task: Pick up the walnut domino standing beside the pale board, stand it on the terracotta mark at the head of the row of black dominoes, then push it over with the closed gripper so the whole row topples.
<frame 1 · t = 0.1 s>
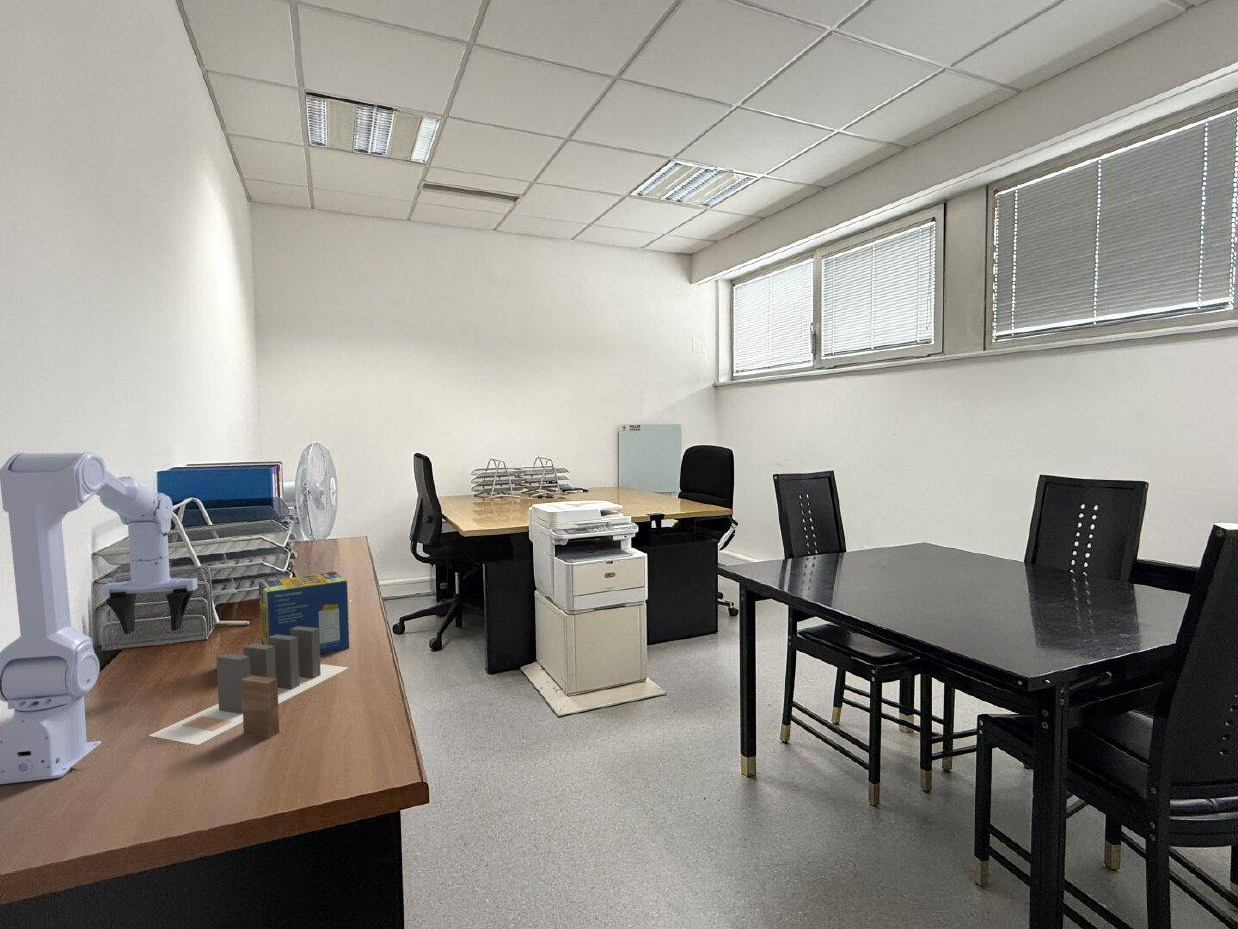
hand: (153, 630, 114), 10 cm above the table, tool pointing down, fingers open, 7 cm apart
domino 1: (261, 737, 94), on the table
domino 4: (284, 686, 112), point 1 cm above the table, touching board
domino 3: (261, 697, 107), point 1 cm above the table, touching board
domino 2: (235, 709, 102), point 1 cm above the table, touching board
protein box: (306, 654, 131), on the table
board: (261, 700, 107), on the table
domino 5: (306, 675, 116), point 1 cm above the table, touching board
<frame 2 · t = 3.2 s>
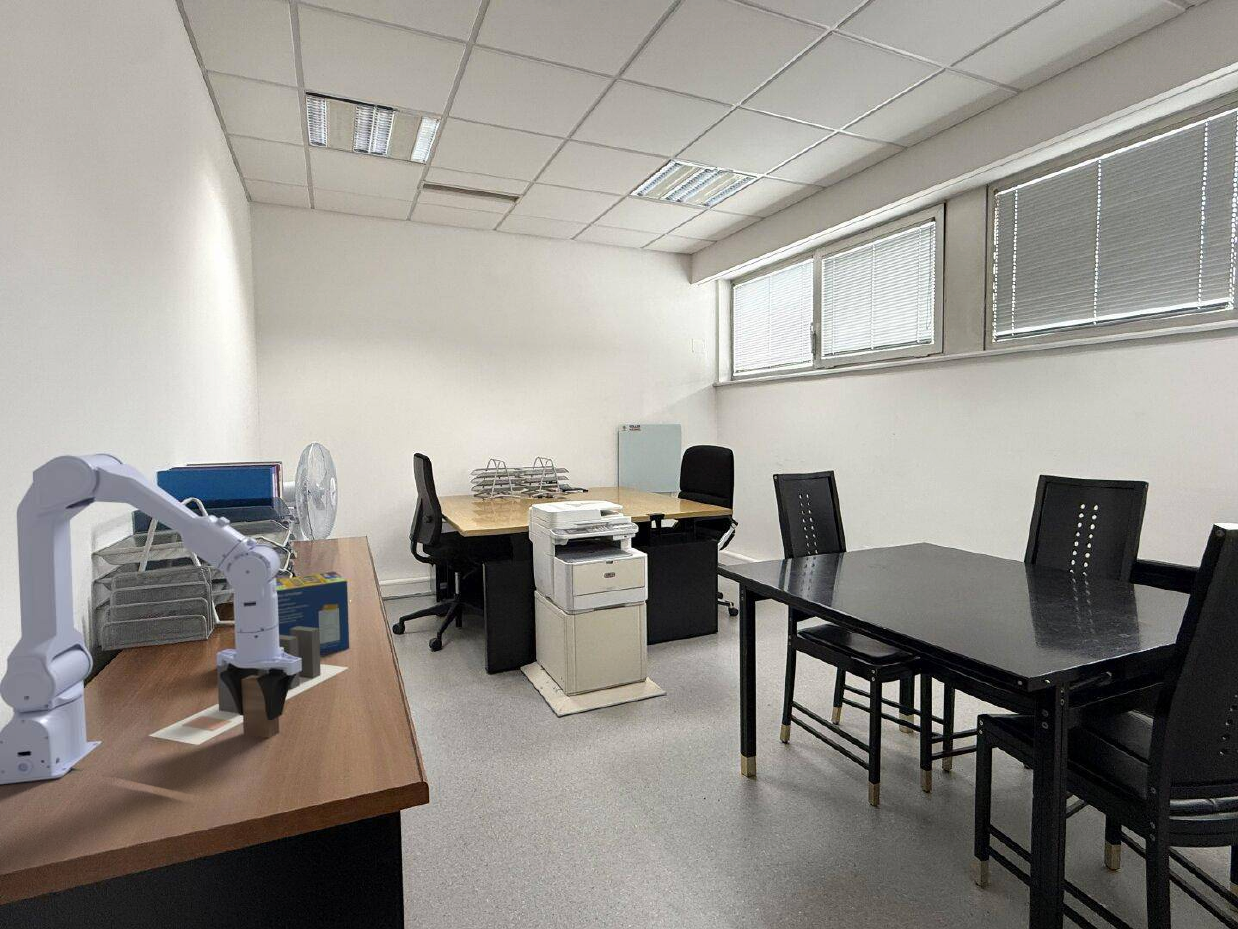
hand: (260, 715, 94), 3 cm above the table, tool pointing down, fingers closed on domino 1, 5 cm apart
domino 1: (261, 737, 94), on the table, touching gripper
everything else where it was.
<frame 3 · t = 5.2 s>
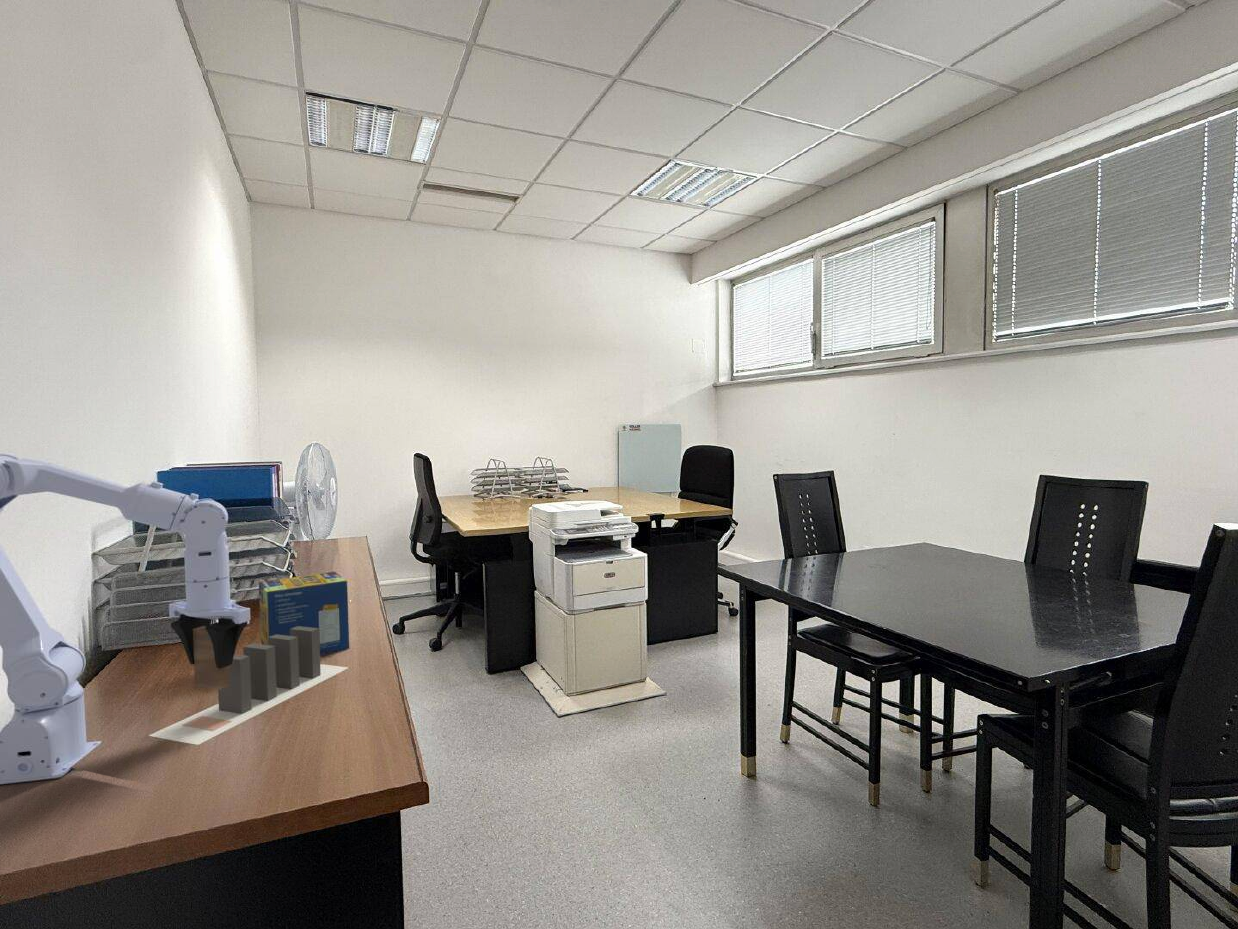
hand: (211, 664, 96), 10 cm above the table, tool pointing down, fingers closed on domino 1, 5 cm apart
domino 1: (212, 685, 97), point 7 cm above the table, touching gripper
everything else where it was.
when the fingers open (5 cm above the table, at t = 7.2 s): domino 1 stays where it is, resting on board.
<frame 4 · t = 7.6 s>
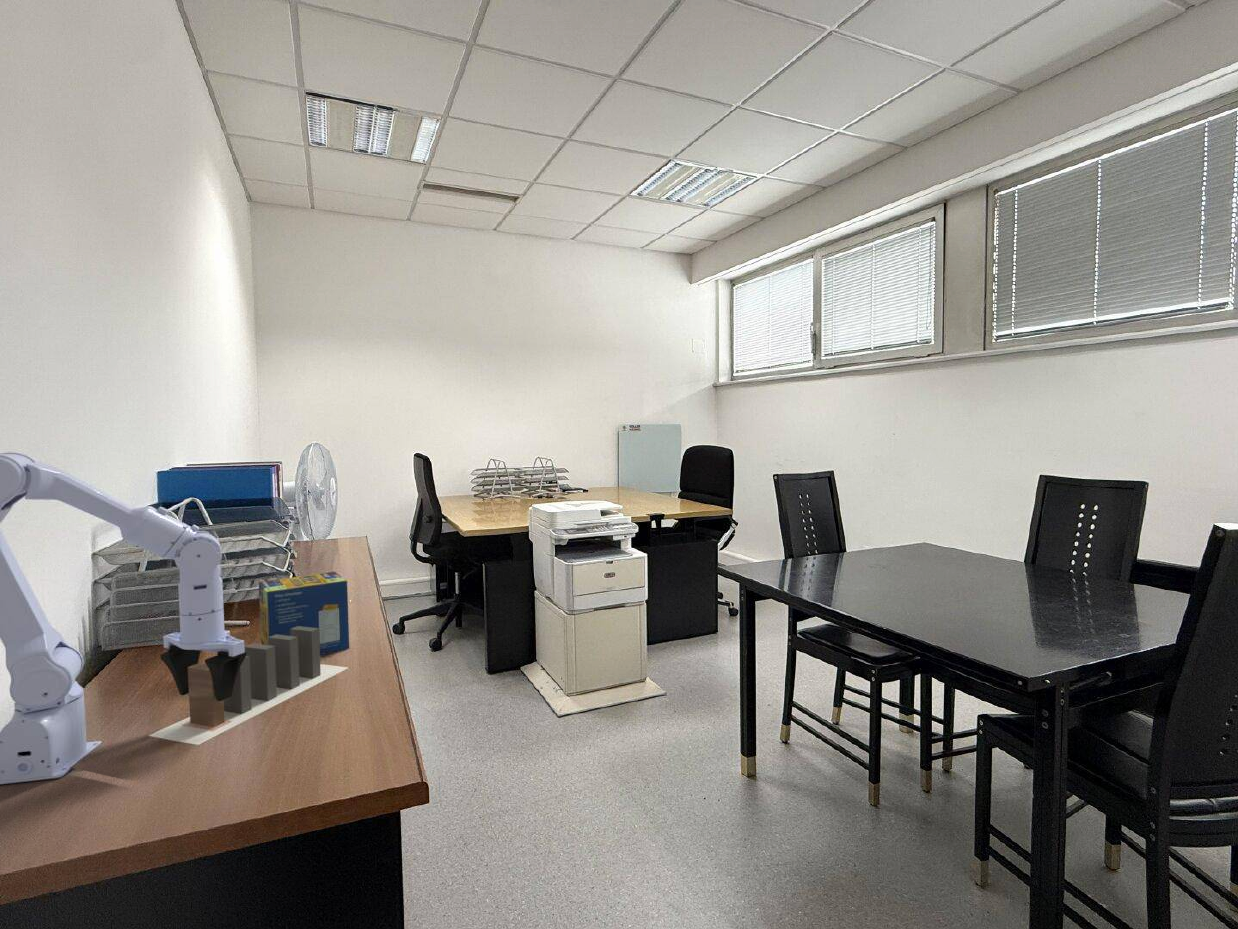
hand: (205, 695, 97), 5 cm above the table, tool pointing down, fingers open, 7 cm apart
domino 1: (207, 722, 97), point 1 cm above the table, touching board
everything else where it was.
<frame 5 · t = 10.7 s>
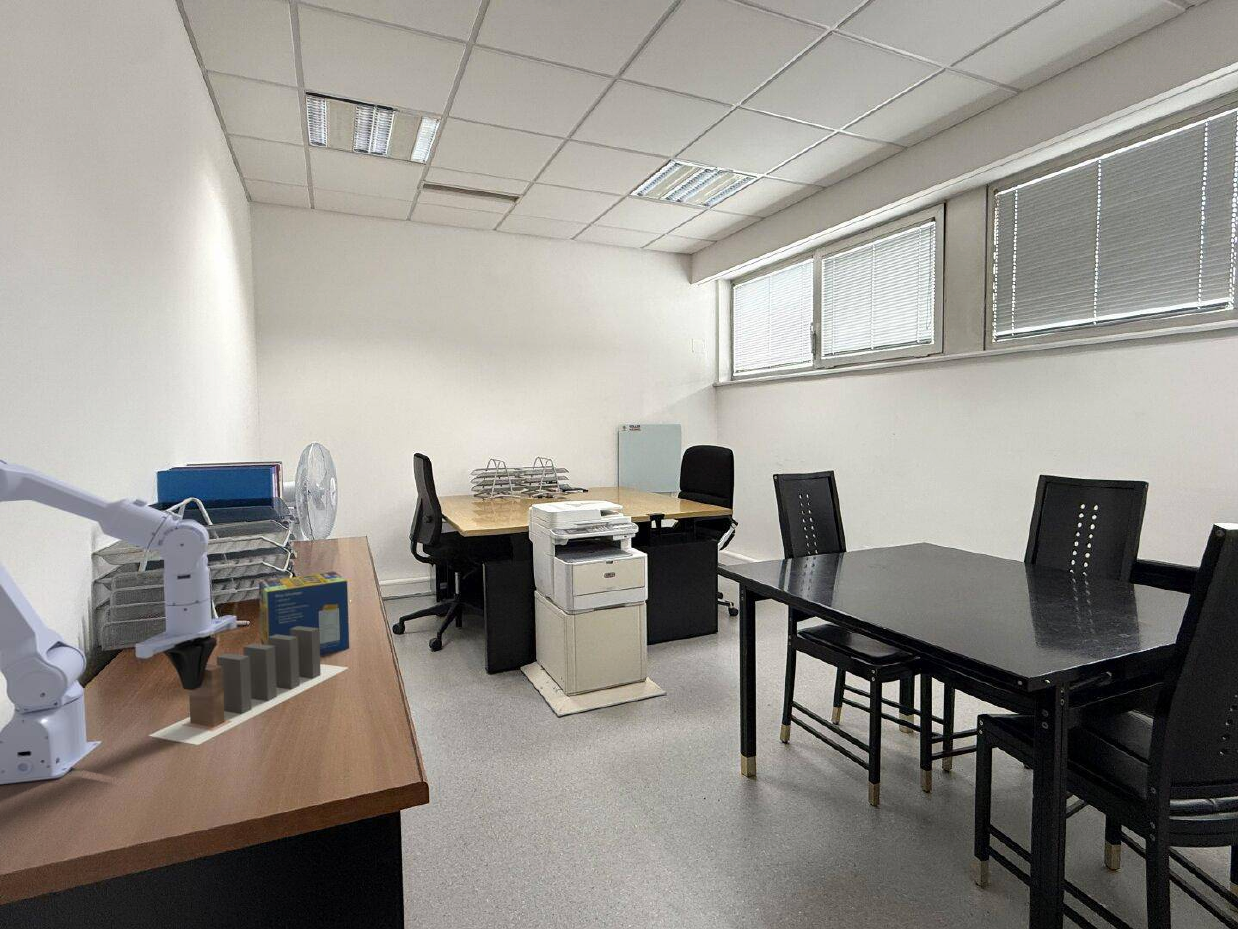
hand: (192, 687, 95), 7 cm above the table, tool pointing down, fingers closed
domino 1: (207, 722, 97), point 1 cm above the table, touching board, gripper
everything else where it was.
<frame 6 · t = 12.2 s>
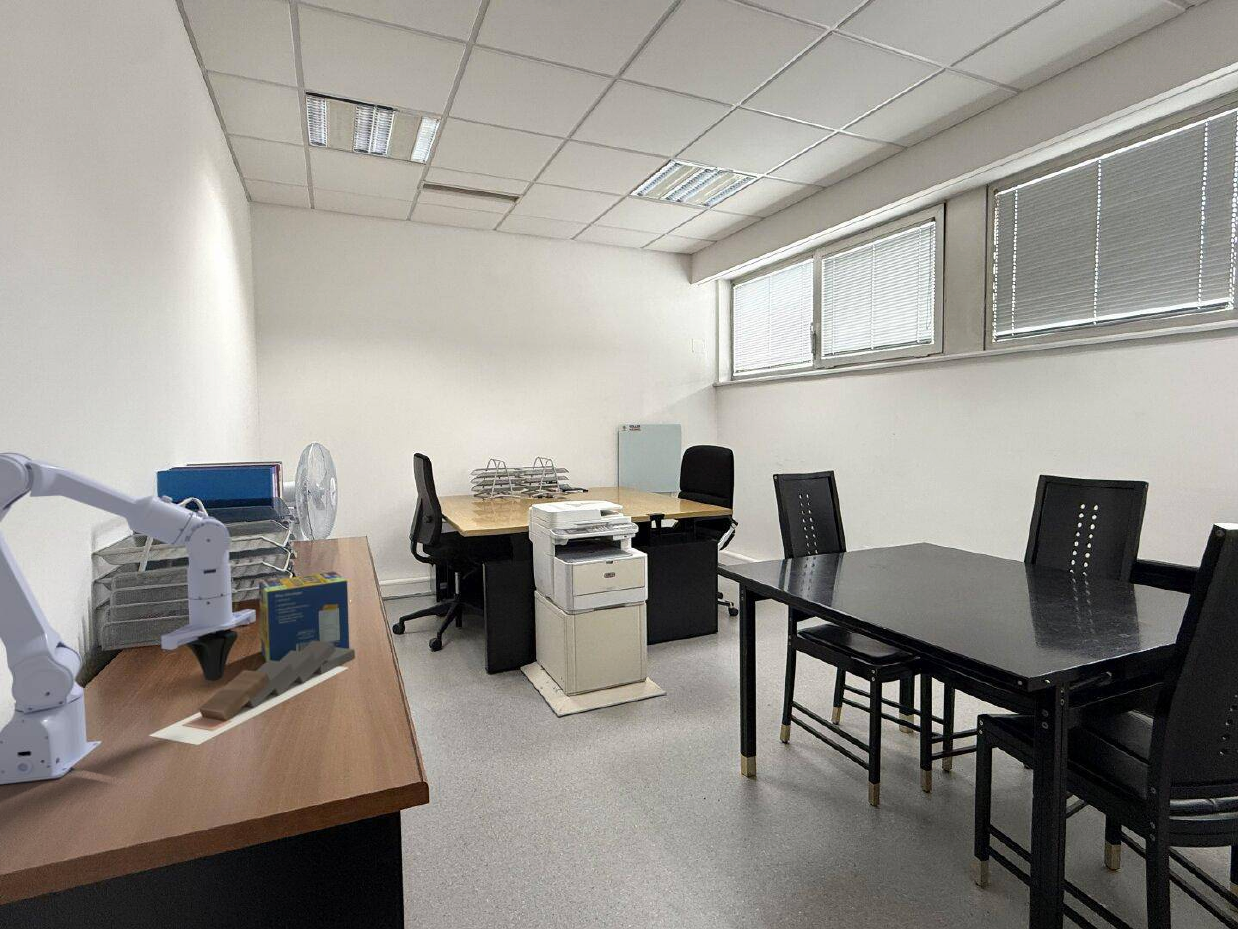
hand: (214, 679, 98), 7 cm above the table, tool pointing down, fingers closed
domino 1: (212, 715, 98), point 2 cm above the table, tilted 70°, touching board, domino 2
domino 4: (290, 678, 113), point 2 cm above the table, tilted 69°, touching domino 3, domino 5
domino 3: (266, 690, 108), point 1 cm above the table, tilted 69°, touching board, domino 2, domino 4
domino 2: (240, 702, 103), point 1 cm above the table, tilted 69°, touching board, domino 1, domino 3
domino 5: (310, 668, 117), point 1 cm above the table, tilted 90°, touching board, domino 4
everything else where it was.
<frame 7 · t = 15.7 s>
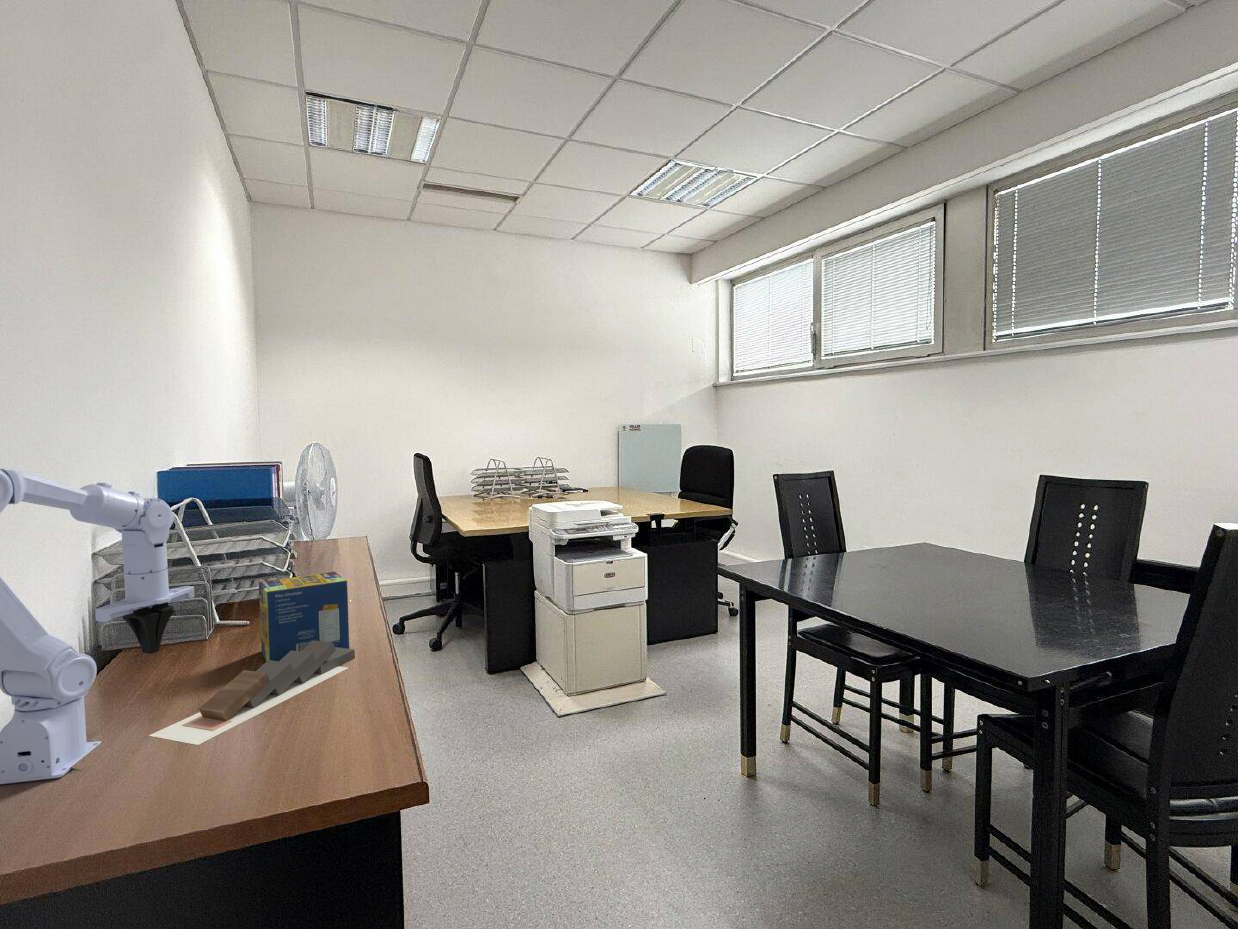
hand: (150, 651, 102), 10 cm above the table, tool pointing down, fingers closed
nothing on the table moved.
at the end: domino 1 inside the target area (0.5 cm from its centre), point 1.5 cm above the table; domino 2 tilted 69°; domino 5 tilted 90° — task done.
